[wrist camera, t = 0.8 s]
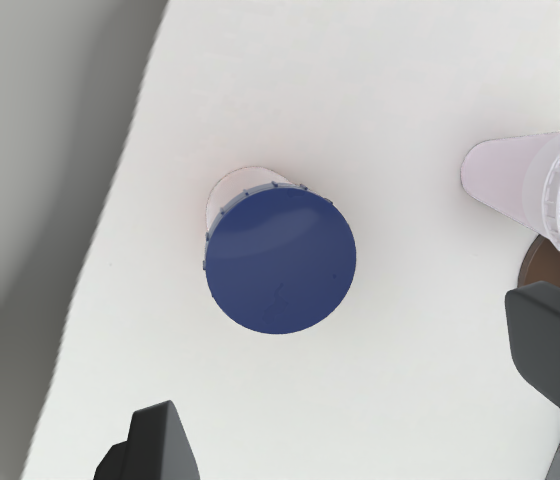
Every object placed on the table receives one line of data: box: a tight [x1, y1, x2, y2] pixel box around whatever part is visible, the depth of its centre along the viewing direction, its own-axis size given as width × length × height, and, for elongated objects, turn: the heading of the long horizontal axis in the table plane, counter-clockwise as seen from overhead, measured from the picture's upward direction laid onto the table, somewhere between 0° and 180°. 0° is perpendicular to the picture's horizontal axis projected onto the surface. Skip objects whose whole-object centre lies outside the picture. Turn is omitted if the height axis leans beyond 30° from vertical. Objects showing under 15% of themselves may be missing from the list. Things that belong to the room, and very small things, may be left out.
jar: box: [206, 167, 292, 232], centre depth 23 cm, size 5×5×9 cm
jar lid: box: [203, 181, 356, 334], centre depth 19 cm, size 6×6×2 cm
